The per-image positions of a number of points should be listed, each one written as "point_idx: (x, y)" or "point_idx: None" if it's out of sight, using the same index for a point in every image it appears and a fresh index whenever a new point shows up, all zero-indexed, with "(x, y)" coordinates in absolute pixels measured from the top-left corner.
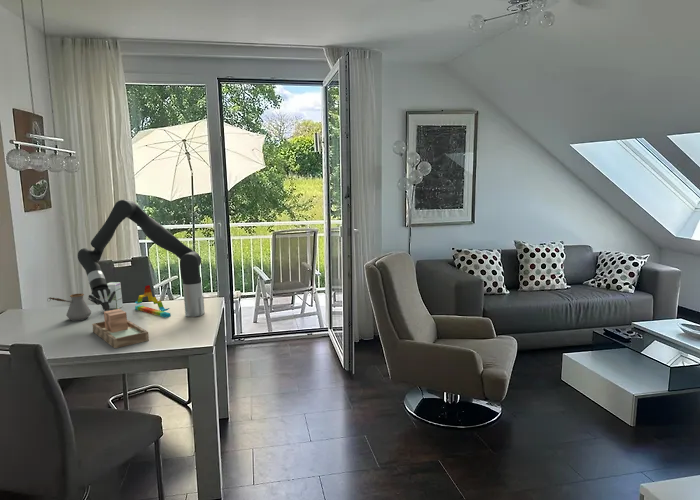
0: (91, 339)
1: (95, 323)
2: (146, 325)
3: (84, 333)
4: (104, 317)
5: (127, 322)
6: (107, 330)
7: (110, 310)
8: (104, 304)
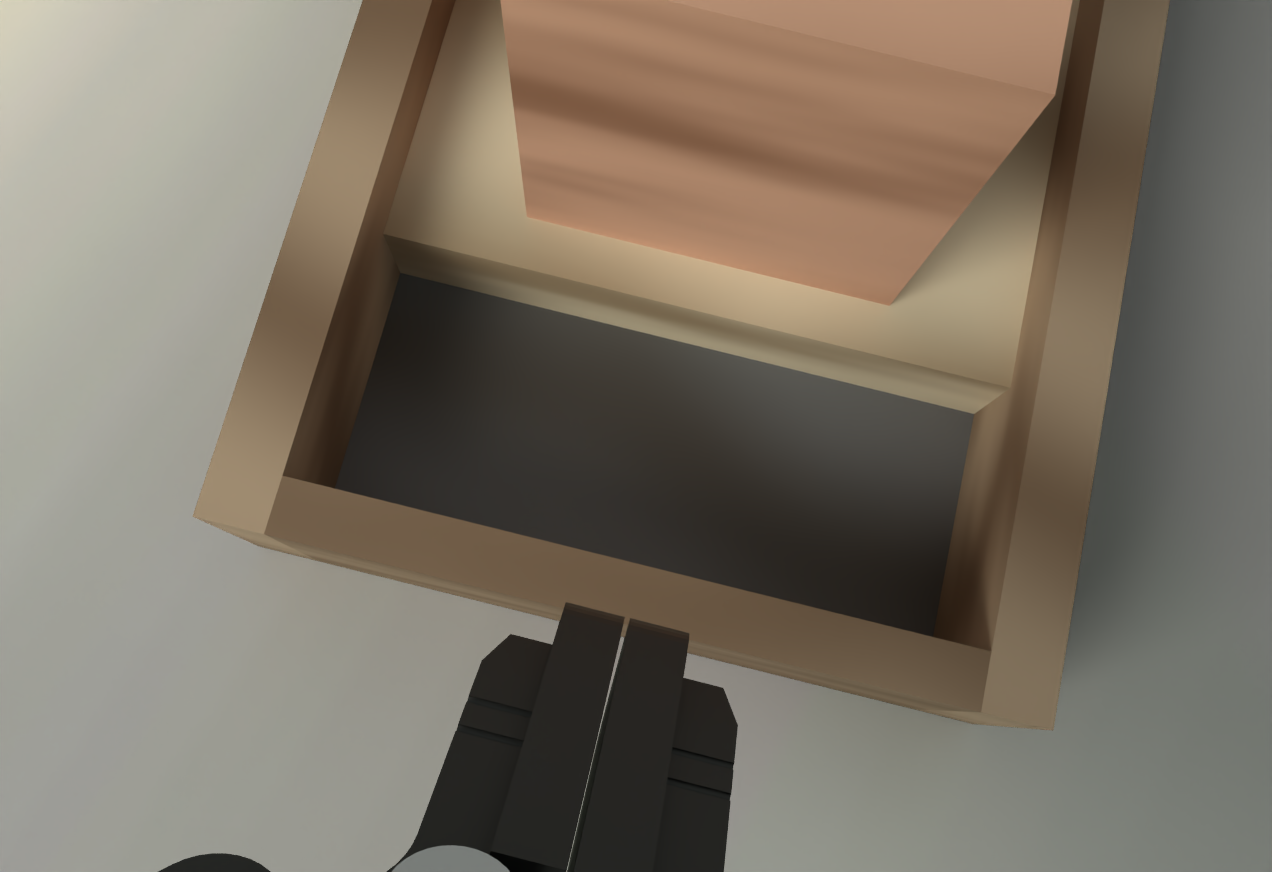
0: (1240, 214)
1: (987, 671)
2: (25, 81)
3: (1153, 791)
4: (983, 170)
5: (419, 63)
6: None
7: (818, 31)
8: (651, 794)
